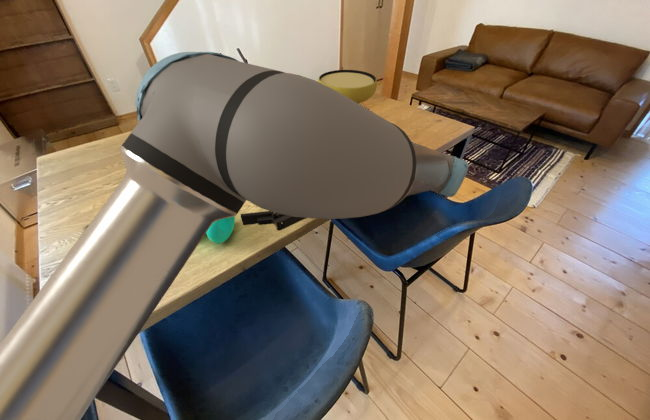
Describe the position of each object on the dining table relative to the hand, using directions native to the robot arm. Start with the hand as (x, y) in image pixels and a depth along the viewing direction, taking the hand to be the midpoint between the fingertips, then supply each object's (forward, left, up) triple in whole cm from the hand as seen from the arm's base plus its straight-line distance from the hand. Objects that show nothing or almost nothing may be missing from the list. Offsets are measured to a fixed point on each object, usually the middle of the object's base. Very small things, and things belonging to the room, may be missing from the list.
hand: (243, 199), depth 64 cm
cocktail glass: (+40, +27, -11) cm, 49 cm away
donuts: (-9, +3, -11) cm, 14 cm away
